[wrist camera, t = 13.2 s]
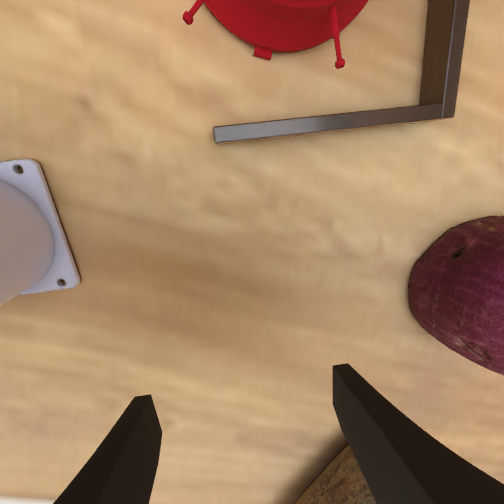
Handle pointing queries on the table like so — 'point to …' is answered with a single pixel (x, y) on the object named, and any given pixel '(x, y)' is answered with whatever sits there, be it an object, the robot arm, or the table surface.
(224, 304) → the table surface
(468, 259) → the vegetable
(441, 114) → the walnut frame
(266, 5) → the alarm clock
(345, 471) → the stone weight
